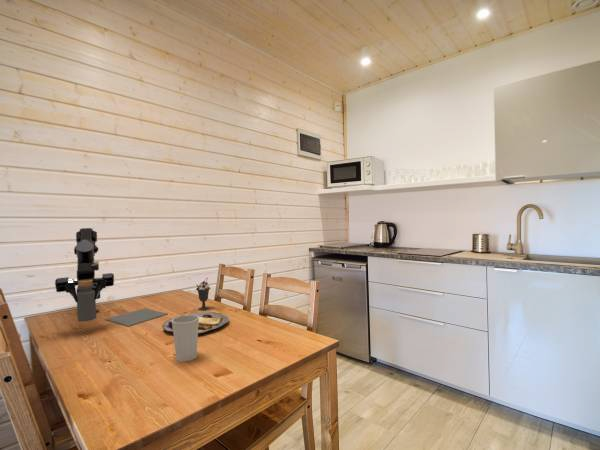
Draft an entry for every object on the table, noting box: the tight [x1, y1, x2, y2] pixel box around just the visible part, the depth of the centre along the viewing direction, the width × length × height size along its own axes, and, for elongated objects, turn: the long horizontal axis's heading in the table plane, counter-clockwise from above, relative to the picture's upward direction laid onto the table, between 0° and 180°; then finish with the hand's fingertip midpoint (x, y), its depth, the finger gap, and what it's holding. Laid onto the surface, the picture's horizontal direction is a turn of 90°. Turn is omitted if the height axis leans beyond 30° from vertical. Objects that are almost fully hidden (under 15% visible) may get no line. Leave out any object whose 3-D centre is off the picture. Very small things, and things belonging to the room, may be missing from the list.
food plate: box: [162, 311, 230, 334], centre depth 123 cm, size 25×23×4 cm
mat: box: [104, 307, 169, 328], centre depth 135 cm, size 18×18×1 cm
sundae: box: [195, 277, 211, 311], centre depth 146 cm, size 7×7×15 cm
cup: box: [171, 314, 199, 362], centre depth 94 cm, size 8×8×12 cm
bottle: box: [76, 279, 97, 323], centre depth 116 cm, size 6×6×15 cm
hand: (86, 300), depth 115 cm, fingers closed on bottle, 6 cm apart
